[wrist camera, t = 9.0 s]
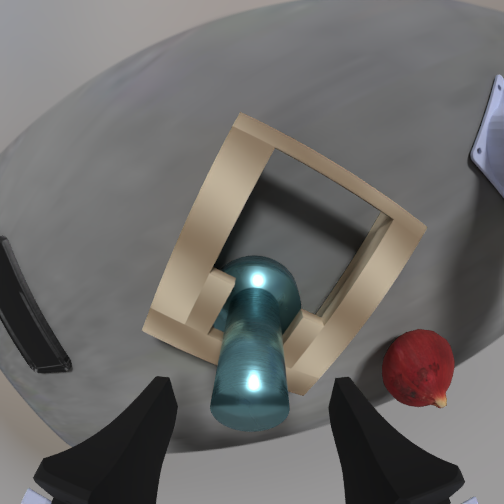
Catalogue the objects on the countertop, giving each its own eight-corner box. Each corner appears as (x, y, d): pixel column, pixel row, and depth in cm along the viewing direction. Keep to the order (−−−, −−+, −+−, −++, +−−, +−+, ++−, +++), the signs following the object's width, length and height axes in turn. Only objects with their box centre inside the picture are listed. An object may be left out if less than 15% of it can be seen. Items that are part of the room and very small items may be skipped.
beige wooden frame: (243, 120, 16) (240, 112, 13) (401, 214, 17) (427, 227, 14) (158, 304, 20) (141, 330, 17) (298, 365, 22) (303, 395, 18)
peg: (208, 255, 19) (163, 353, 9) (299, 255, 19) (335, 355, 9) (214, 331, 21) (188, 442, 11) (295, 331, 21) (313, 444, 11)
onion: (361, 366, 22) (389, 437, 14) (384, 309, 20) (430, 378, 12) (413, 365, 22) (448, 425, 14) (438, 312, 20) (488, 369, 12)
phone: (34, 373, 23) (-28, 258, 19) (38, 367, 24) (-22, 254, 20) (72, 371, 22) (0, 234, 18) (77, 364, 23) (8, 230, 19)
